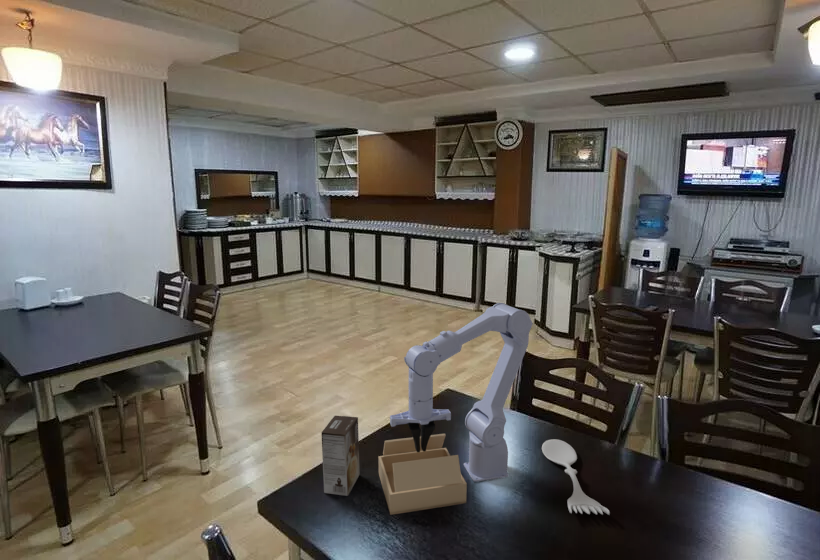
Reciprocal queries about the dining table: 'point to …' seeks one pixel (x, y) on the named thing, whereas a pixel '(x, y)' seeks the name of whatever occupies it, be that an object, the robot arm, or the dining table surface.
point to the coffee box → (340, 455)
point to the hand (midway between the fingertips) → (420, 449)
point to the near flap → (426, 473)
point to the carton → (422, 496)
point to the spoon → (566, 457)
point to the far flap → (411, 444)
